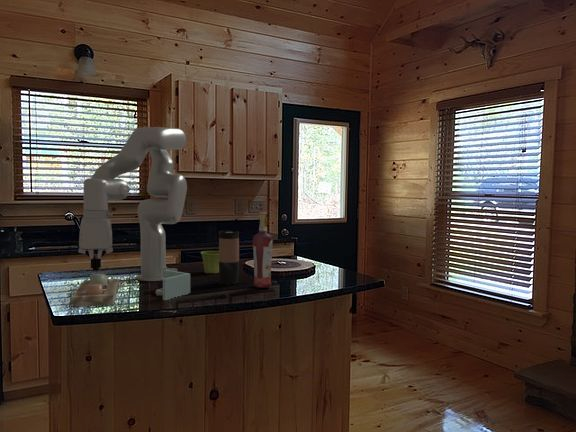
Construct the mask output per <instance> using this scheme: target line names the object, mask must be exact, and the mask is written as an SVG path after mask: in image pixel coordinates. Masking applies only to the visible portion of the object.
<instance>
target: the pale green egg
mask: <svg viewBox="0 0 576 432" xmlns="http://www.w3.org/2000/svg"><path fill="white" fill-rule="evenodd" d="M105 275H106V274H105V273H92V274H90V275H89V280H90V284H102V287H103V289H105Z"/></svg>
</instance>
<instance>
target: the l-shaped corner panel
mask: <svg viewBox="0 0 576 432" xmlns="http://www.w3.org/2000/svg"><path fill="white" fill-rule="evenodd" d="M189 293H190V294H191V273H189V272H182V271H178V270H177V271H170V270H164V279H163V280H162V287H161V288H159V289H156V290H155V295H156V296H157V297H158V296H159V297H162V301H169V300H171V298H172V299H175V298H174V297H176V298H179V297H182V295H183V296H185V295H189ZM178 296H179V297H178Z"/></svg>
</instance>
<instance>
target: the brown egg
mask: <svg viewBox="0 0 576 432" xmlns="http://www.w3.org/2000/svg"><path fill="white" fill-rule="evenodd" d="M86 291H87V295H101V294H103V287H102V284H90V285H87V286H86Z"/></svg>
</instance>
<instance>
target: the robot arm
mask: <svg viewBox="0 0 576 432" xmlns="http://www.w3.org/2000/svg"><path fill="white" fill-rule="evenodd" d="M186 143H187V137H186V134H185V132H184V130H182V129H181V128H179V127H166V126H165V127H164V126H143V127H142V126H141V127H138V128H135V129H134V130H132V133H131V134H130V136H129V137H128V139H127V140H126V142H125V143H124V145H123V147H122V148H121V150H120V151H119V152H118V154H116V155H114V156H113V157H111V158H110V159H108V160H107V161H105V162H104V163H102V164H101V165H100V166H99V167H97V168H96V170H95V171H94V173H93V174H92V176H91V177H90V178H89V177H88V178H86V179H84V181H83V218H82V219H81V222H80V226H79V228H80V229H79V236H78V237H79V238H78V240H79V241H78V247H79V248H78V253H80V254H83V255H86V256H87V257H88V258H89V259H90V268H91V269H92V272H95V271H96V272H98V271H99V270H100V269H101V268H102V260H101V259H102V257H104V256H105V255H106V254H110V253H113V251H114V249H113V229H112V223H111V219H108V218H110V217H113V211H109V201H121V200H124V199H126V198H127V197H128V195H129V193H130V186H129V184H128V182H127V181H125V180H124V179H121V178H117V177H119V176H121V175H124V174H128V173H131V172H133V171H135V170H137V169H139V168H140V167H141V165H142V163H143V162H144V161H145V158H146V156H147V155H148V153H150V154H149V155H150V157H151V166H150V171H149V175H148V180H147V185H146V192H147V193H148V195H150V196H152V197H155V198H147V199H144V200H142V201H141V202H139V204H138V205H137V218H138V222H139V228H140V231H139V232H140V274H137V276H136V279H137V280H139V281H141V282H161V281H163V279H164V270H170V271H177V272H178V268H174V267H173V268H169V267H168V266H167V265H166V263H167V261H166V258H167V257H166V256H167V255H166V254H167V253H166V247H167V246H166V243H167V242H166V239H167V238H166V231H165V229H164V227H163V224H164V225H174V224H177V223H179V221H180V220H181V219H182V216H183V212H184V206H185V201H186V196H187V192H188V183H187V180H186V178H185V177H184V176H183V175H182V174H180V173H173V170H174V161H173V158H172V157H171V155H170V153H169V151H175V150H176V151H177V150H178V151H179V150H181V149H183V148H184V147H185V145H186ZM161 198H162V199H161ZM163 198H165V199H163ZM166 198H167V199H166ZM95 250H98V251H97V256H95Z"/></svg>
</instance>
